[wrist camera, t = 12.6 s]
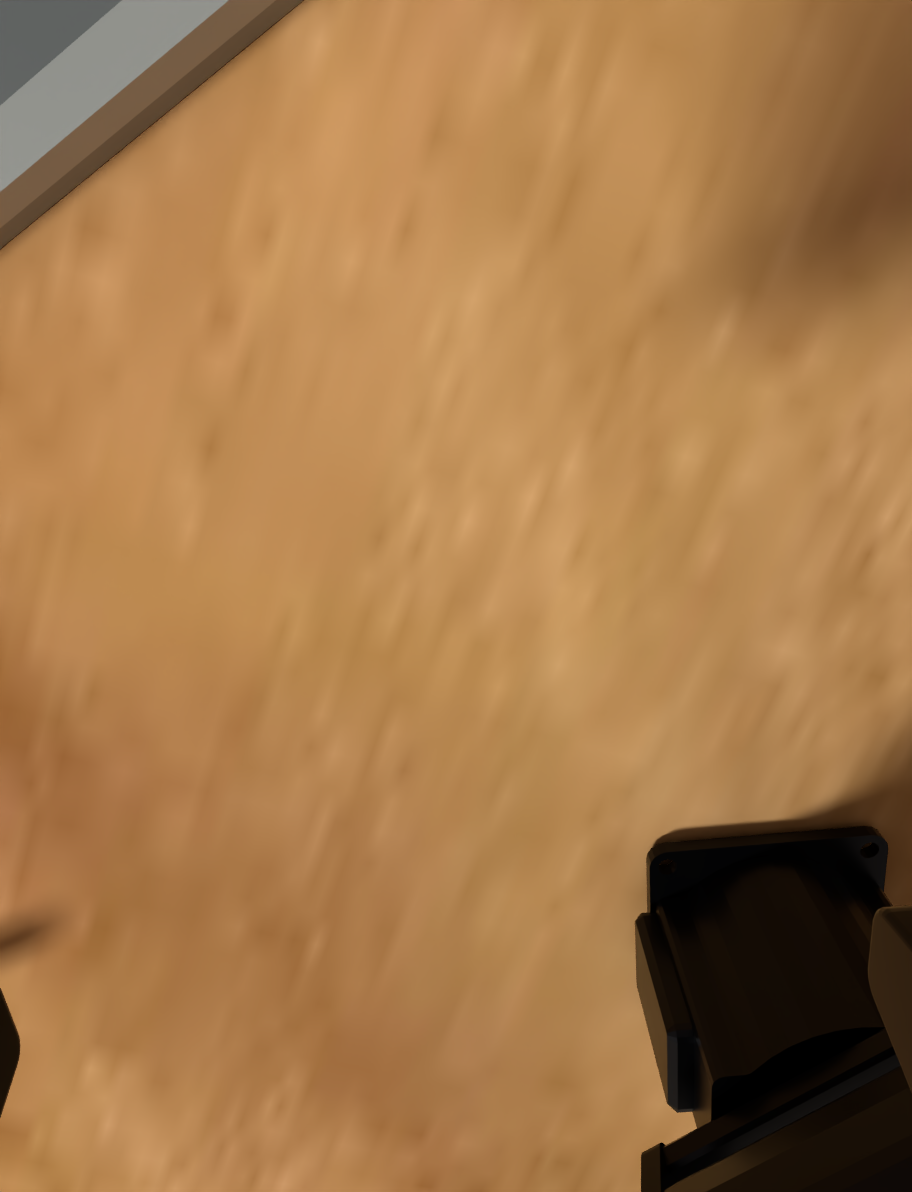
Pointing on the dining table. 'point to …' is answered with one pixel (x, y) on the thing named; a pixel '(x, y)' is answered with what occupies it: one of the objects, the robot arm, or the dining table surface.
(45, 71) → the dock
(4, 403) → the dining table surface
